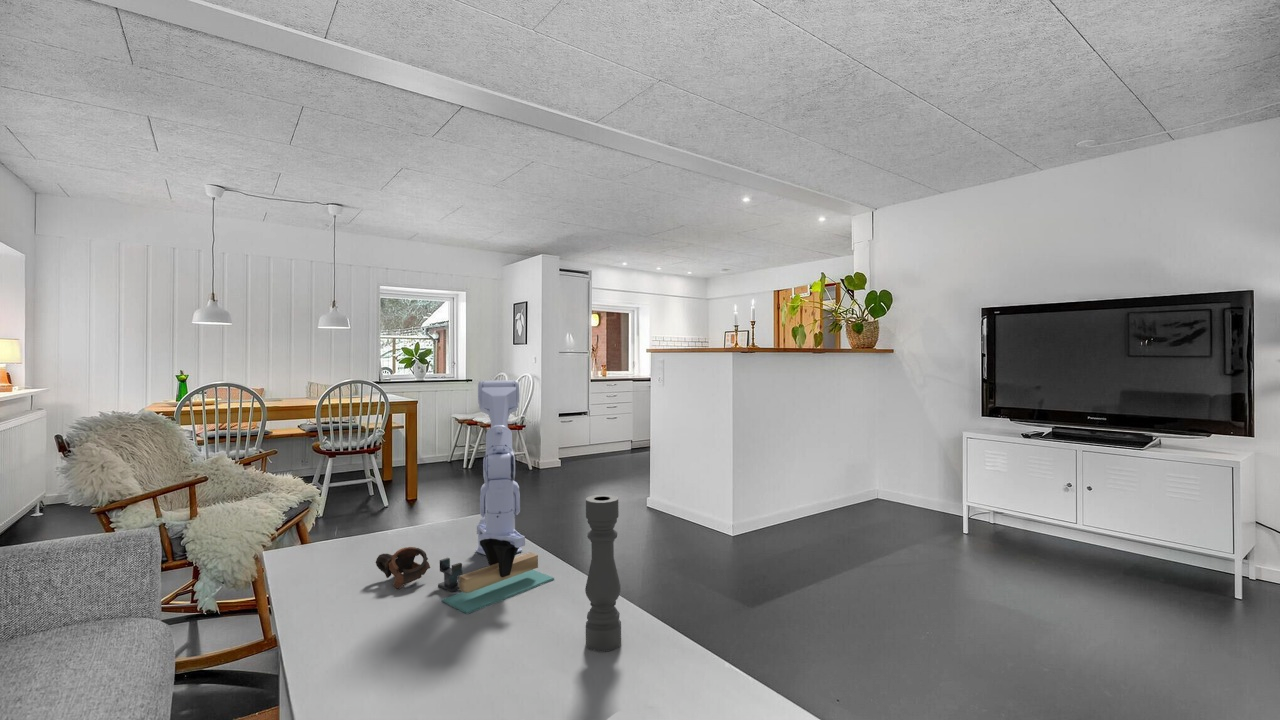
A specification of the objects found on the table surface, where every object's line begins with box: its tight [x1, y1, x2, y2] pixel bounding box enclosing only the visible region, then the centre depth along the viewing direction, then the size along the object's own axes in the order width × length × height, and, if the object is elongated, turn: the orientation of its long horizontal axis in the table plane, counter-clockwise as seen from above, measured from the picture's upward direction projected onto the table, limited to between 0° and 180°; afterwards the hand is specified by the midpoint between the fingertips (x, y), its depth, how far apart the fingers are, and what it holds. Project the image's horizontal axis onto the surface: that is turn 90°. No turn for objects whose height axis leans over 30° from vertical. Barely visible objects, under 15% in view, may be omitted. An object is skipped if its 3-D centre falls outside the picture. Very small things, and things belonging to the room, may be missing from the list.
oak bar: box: [458, 552, 539, 593], centre depth 122 cm, size 3×18×3 cm, turn 139°
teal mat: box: [441, 569, 555, 615], centre depth 122 cm, size 9×22×1 cm, turn 139°
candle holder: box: [584, 494, 622, 652], centre depth 99 cm, size 6×6×25 cm
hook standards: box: [438, 557, 463, 593], centre depth 128 cm, size 6×15×6 cm, turn 139°
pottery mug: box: [375, 546, 431, 589], centre depth 127 cm, size 12×10×8 cm
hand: (500, 573), depth 122 cm, fingers closed on oak bar, 3 cm apart
